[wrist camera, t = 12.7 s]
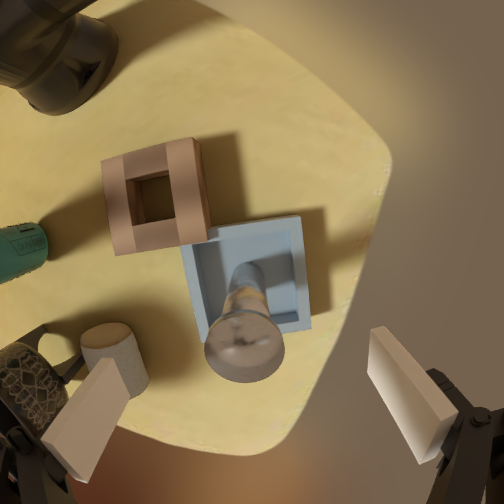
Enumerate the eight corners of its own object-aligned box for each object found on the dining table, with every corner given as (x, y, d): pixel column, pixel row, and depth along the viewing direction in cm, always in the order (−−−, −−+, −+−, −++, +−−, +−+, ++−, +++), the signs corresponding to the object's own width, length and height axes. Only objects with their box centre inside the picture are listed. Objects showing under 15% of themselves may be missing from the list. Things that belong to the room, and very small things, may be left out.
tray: (185, 230, 29) (177, 234, 26) (295, 214, 29) (300, 216, 26) (205, 330, 32) (201, 343, 29) (306, 317, 31) (311, 329, 28)
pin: (223, 260, 29) (196, 321, 15) (266, 254, 29) (280, 311, 14) (230, 300, 30) (213, 385, 16) (271, 295, 30) (287, 377, 15)
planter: (76, 311, 31) (-8, 376, 14) (110, 387, 34) (59, 468, 16) (26, 318, 32) (-44, 366, 15) (57, 384, 34) (5, 444, 17)
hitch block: (117, 164, 28) (100, 161, 24) (199, 144, 28) (192, 137, 24) (130, 249, 30) (115, 256, 26) (213, 235, 29) (207, 241, 26)
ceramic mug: (139, 317, 31) (112, 347, 24) (157, 371, 33) (138, 406, 25) (77, 319, 32) (46, 343, 24) (96, 368, 33) (72, 397, 26)
